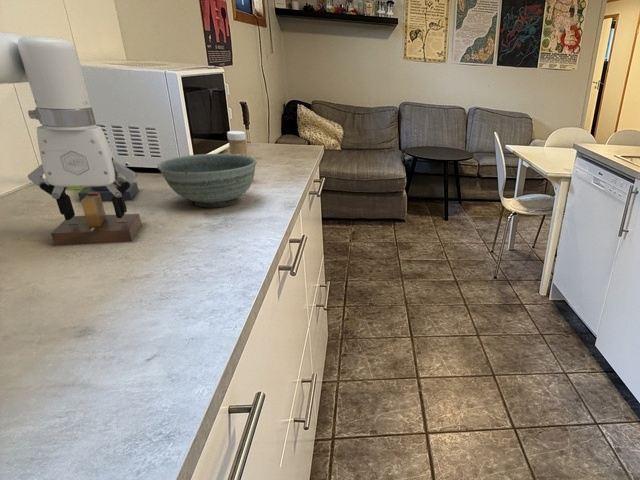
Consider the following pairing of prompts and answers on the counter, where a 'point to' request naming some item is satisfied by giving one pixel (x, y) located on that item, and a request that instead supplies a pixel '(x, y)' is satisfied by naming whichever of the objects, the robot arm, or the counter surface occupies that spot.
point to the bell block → (106, 194)
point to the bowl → (209, 177)
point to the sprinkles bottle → (237, 142)
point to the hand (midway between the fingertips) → (96, 216)
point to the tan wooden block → (93, 209)
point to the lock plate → (97, 230)
